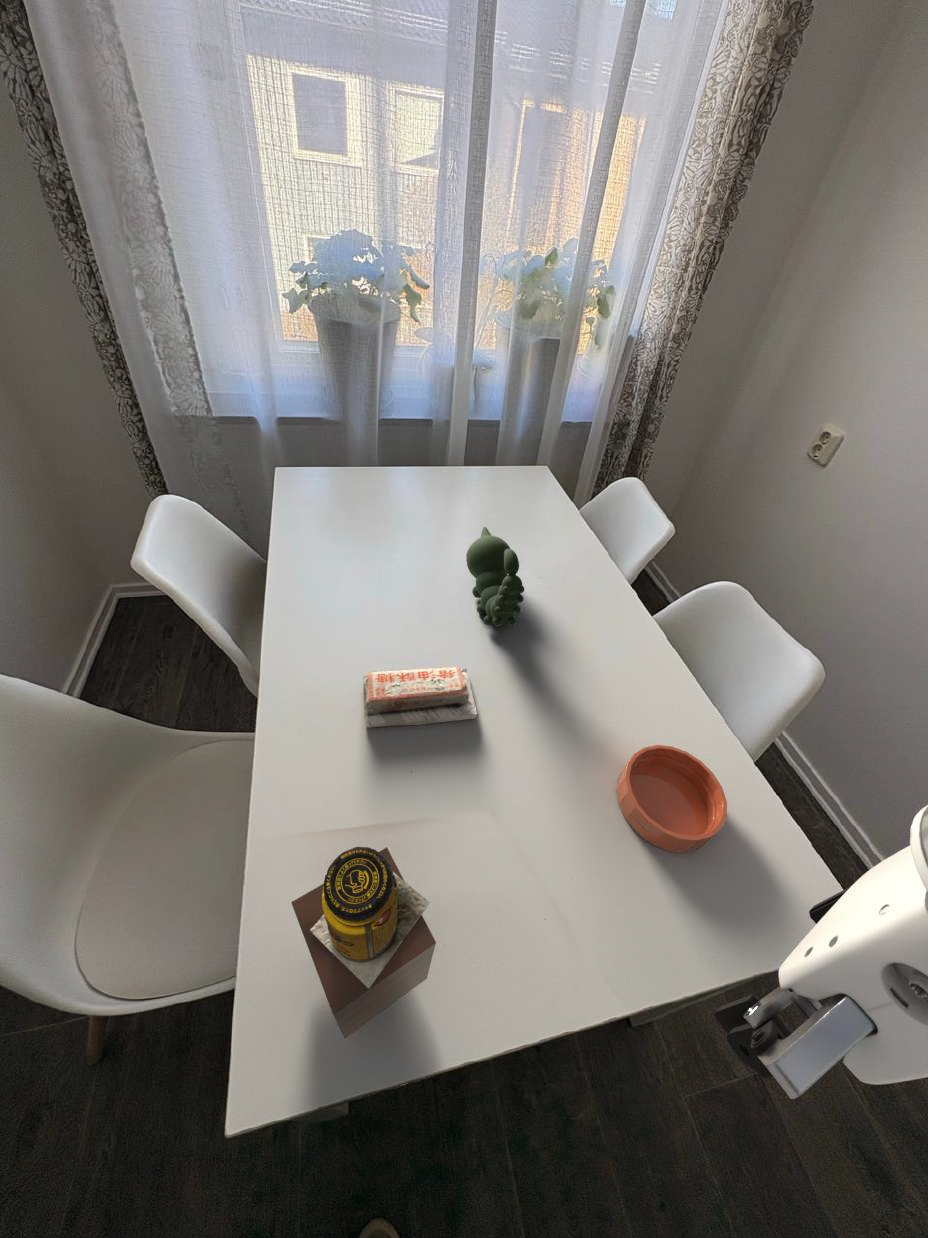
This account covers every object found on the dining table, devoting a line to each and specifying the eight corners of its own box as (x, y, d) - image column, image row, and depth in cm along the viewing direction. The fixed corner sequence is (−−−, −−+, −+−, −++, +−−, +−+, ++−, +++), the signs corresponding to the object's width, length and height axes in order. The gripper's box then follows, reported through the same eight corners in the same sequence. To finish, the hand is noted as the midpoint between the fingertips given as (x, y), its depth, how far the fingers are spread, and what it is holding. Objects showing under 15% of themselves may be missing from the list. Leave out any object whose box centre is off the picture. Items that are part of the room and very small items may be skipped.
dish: (732, 820, 76) (747, 807, 73) (668, 873, 70) (682, 860, 66) (659, 745, 84) (670, 730, 81) (596, 786, 77) (605, 772, 74)
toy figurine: (522, 645, 99) (499, 555, 114) (546, 576, 84) (516, 484, 100) (475, 647, 97) (458, 556, 113) (490, 577, 83) (468, 484, 98)
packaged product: (364, 712, 77) (361, 662, 84) (365, 730, 80) (362, 680, 87) (480, 702, 80) (469, 654, 87) (477, 720, 84) (466, 672, 90)
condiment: (309, 931, 47) (292, 887, 38) (373, 855, 52) (371, 802, 43) (368, 989, 44) (364, 956, 36) (430, 903, 49) (438, 857, 41)
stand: (427, 978, 58) (436, 942, 47) (344, 1039, 54) (333, 1015, 43) (387, 896, 64) (386, 846, 53) (309, 945, 59) (290, 902, 48)
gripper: (1131, 1239, 12) (758, 1184, 24) (1245, 850, 20) (919, 957, 32) (829, 927, 16) (640, 1014, 28) (1021, 707, 24) (809, 849, 36)
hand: (788, 984), depth 30 cm, fingers open, 9 cm apart
